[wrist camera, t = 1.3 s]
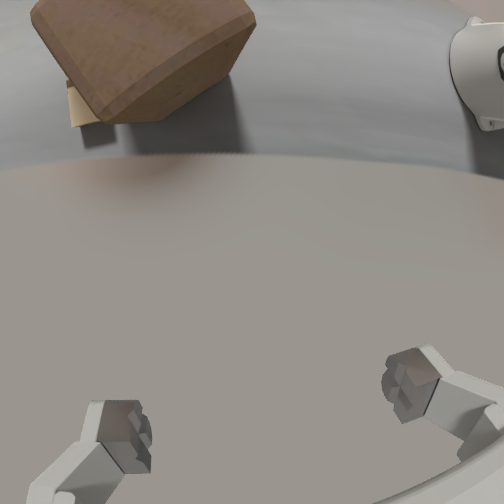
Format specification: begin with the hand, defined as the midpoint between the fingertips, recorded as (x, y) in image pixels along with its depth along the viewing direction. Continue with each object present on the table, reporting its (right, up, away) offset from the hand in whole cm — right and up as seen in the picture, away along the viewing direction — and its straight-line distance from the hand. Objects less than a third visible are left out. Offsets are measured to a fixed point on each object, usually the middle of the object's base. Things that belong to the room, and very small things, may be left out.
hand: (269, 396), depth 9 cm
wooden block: (-9, +24, +21) cm, 34 cm away
